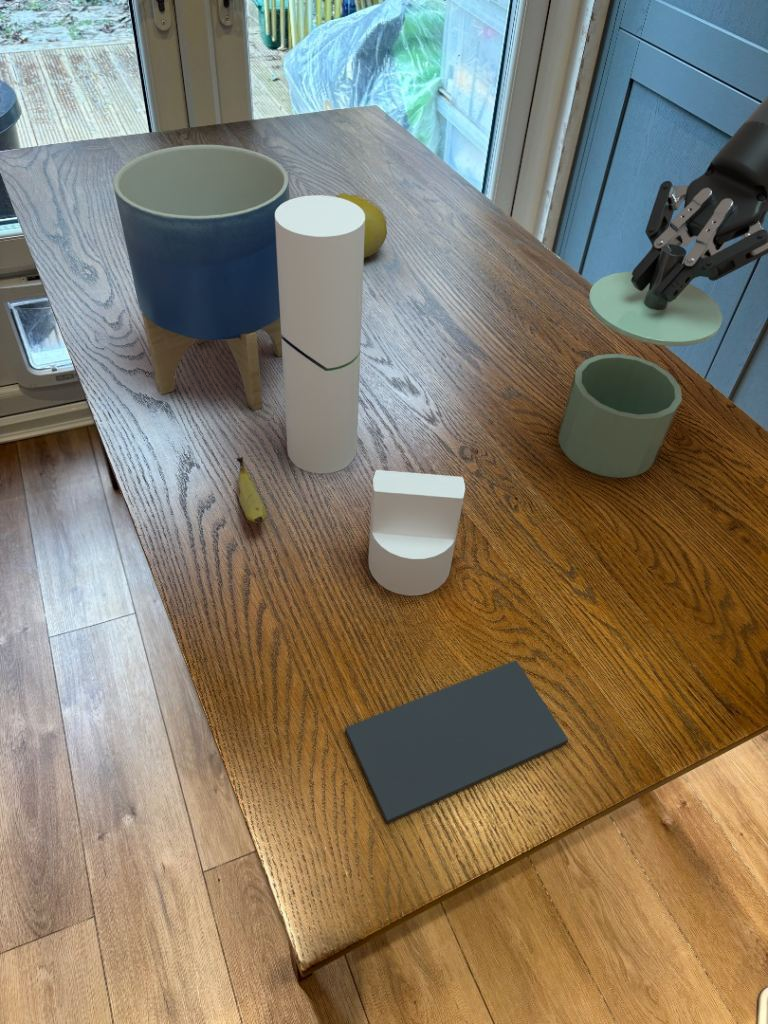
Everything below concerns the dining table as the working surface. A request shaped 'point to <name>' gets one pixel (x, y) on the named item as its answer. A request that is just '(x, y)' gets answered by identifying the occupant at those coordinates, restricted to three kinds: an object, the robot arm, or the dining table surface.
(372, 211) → the fruit
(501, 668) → the mat
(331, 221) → the container
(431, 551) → the base with upright slab
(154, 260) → the planter
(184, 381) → the dining table surface
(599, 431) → the pot
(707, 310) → the lid
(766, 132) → the robot arm
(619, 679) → the dining table surface
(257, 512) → the banana
